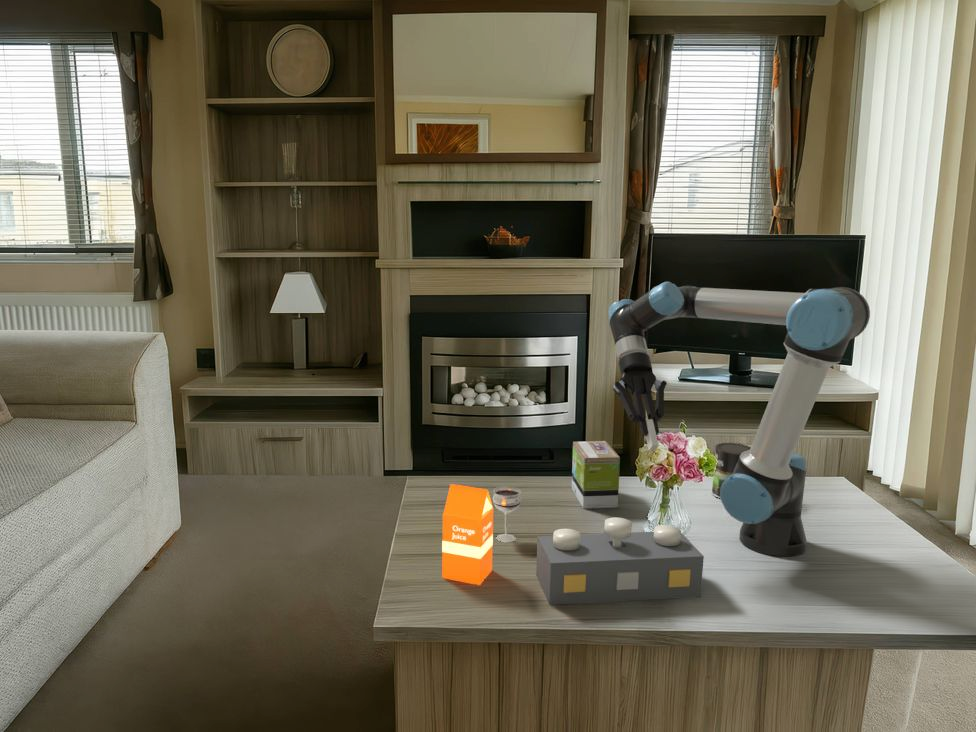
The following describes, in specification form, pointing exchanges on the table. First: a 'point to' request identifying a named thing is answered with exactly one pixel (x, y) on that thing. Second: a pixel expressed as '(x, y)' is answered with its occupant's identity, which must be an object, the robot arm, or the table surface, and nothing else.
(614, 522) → the middle button
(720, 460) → the coffee can
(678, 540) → the button
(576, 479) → the tea box
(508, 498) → the wineglass
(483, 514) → the orange juice
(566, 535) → the button
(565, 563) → the button console
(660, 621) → the table surface
